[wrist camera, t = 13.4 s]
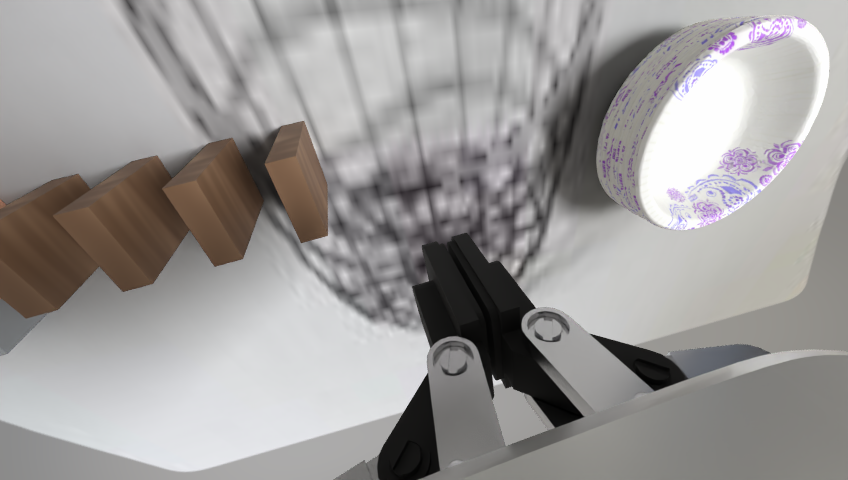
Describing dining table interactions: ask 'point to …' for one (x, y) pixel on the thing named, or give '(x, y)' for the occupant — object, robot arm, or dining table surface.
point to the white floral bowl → (712, 118)
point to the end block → (13, 327)
